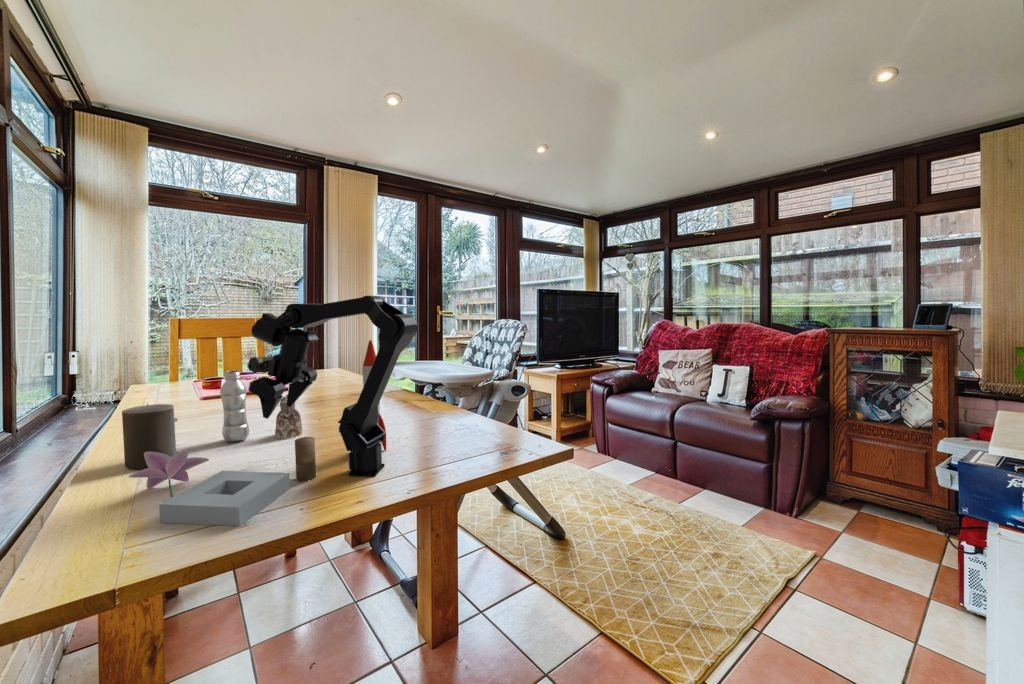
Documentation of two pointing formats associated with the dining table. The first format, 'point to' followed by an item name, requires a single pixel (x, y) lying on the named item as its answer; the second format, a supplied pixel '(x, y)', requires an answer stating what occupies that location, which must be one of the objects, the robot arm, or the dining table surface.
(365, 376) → the toy rocket
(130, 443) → the pillar candle
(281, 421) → the figurine
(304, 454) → the walnut peg
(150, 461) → the lily
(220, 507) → the socket block
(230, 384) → the plastic bottle
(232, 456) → the dining table surface
